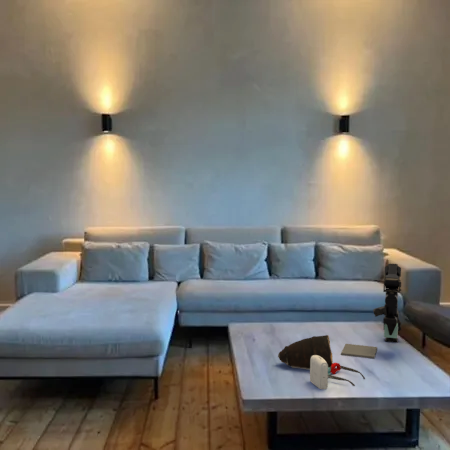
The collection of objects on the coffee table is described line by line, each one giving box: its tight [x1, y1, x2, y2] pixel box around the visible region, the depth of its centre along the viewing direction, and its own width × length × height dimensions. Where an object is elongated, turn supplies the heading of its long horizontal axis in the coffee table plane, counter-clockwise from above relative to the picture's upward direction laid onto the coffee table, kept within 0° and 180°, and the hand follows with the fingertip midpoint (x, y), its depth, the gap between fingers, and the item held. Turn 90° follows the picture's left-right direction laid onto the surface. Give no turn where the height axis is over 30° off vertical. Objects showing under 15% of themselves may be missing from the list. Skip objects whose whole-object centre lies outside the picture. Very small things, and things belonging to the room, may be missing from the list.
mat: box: [340, 343, 378, 360], centre depth 263 cm, size 16×16×1 cm
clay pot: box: [277, 334, 334, 371], centre depth 242 cm, size 15×15×25 cm
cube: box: [383, 323, 399, 338], centre depth 257 cm, size 6×6×6 cm
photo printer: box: [309, 355, 329, 390], centre depth 220 cm, size 10×4×12 cm, turn 17°
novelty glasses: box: [328, 362, 366, 387], centre depth 227 cm, size 14×15×5 cm
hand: (390, 333), depth 257 cm, fingers closed on cube, 6 cm apart
